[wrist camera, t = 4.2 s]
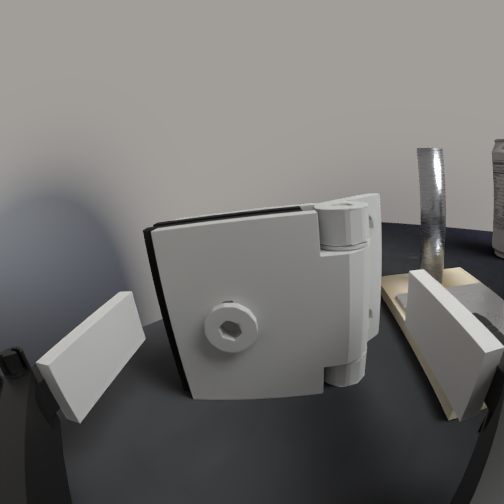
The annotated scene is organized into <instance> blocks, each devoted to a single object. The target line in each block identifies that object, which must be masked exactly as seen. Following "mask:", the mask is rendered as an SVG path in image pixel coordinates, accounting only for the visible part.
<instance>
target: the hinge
mask: <svg viewBox="0 0 504 504" xmlns="http://www.w3.org/2000/svg"><path fill="white" fill-rule="evenodd" d="M143 233H144V239H145V244H146V248H147V254H148V258H149V263H150V268H151V272H152V277H153V281H154V285H155V289H156V294H157V298H158V302H159V305H160V310H161V314H162V317H163V321H164V325H165V329H166V332H167V336H168V339H169V343H170V346H171V350H172V353H173V357H174V360H175V363H176V366H177V370H178V373H179V376H180V379H181V382H182V385H183V388H184V390H187V391H191V393H192V396H193V399H205V400H234V399H263V398H279V397H292V396H303V395H313V394H321V393H323V384H324V381H325V382H326V383H327V384H331V385H334V386H339V387H344V386H349V385H353V384H356V383H358V382H359V381H360V380H361V379H362V377H363V376H364V375H365V362H366V353H367V351H366V350H367V341H369V340H370V339H371V338H373V337H374V336H375V335H377V334H378V331H379V317H380V299H381V266H382V242H381V208H380V194H373V193H369V194H364V195H359V196H353V197H348V198H343V199H337V200H333V201H328V202H322V203H318V204H315V203H308V204H299V205H298V204H297V205H287V206H278V207H268V208H259V209H250V210H241V211H232V212H225V213H216V214H208V215H201V216H193V217H185V218H178V219H175V220H173V221H167V222H160V223H156V224H154V225H153V227H149V228H146V229H145V230H143Z"/></svg>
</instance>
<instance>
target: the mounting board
mask: <svg viewBox="0 0 504 504" xmlns="http://www.w3.org/2000/svg"><path fill="white" fill-rule="evenodd" d="M408 281H409V273H408V274H399V275H390V276H381V296H382V297H383V299H384V301H385V302H386V304H387V306H388V307H389V309H390V311H391V312H392V314H393V316H394V317H395V319H396V321H397V323H398V324H399V326H400V328H401V330H402V331H403V333H404V335H405V337H406V338H407V340H408V342H409V344H410V346H411V347H412V349H413V351H414V353H415V355H416V357H417V358H418V360H419V362H420V364H421V366H422V368H423V370H424V372H425V374H426V375H427V377H428V379H429V381H430V383H431V385H432V387H433V389H434V391H435V393H436V395H437V397H438V399H439V401H440V404H441V406H442V408H443V410H444V412H445V414H446V416H447V418H448V421H449V420H452V419H455V418H458V417H457V415H456V413H455V411H454V409H453V407H452V405H451V404H450V402H449V400H448V398H447V396H446V394H445V392H444V391H443V389H442V387H441V385H440V383H439V381H438V380H437V378H436V376H435V374H434V373H433V371H432V369H431V367H430V366H429V364H428V362H427V361H426V359H425V357H424V355H423V354H422V352H421V350H420V349H419V347H418V345H417V344H416V342H415V341H414V339H413V337H412V336H411V334H410V332H409V331H408V329H407V328H406V326H405V317H406V312H405V310H404V309H403V308H402V306H401V305H400V303H399V302H398V300H397V299H396V294H402V293H408ZM479 282H480V281H478V280H477V279H476V278H474V277H473V276H472V275H470V274H469V273H468V272H466V271H465V270H463V269H462V268H461V267H458V268H450V269H443V280H442V284H441V285H442V286H443V287H444V288H447V287H454V286H460V285H466V284H473V283H479ZM483 285H484V284H483ZM487 288H488V287H487ZM491 291H492V290H491ZM496 295H497V294H496ZM501 299H502V298H501ZM485 408H488V407H487V406H486V404H485V403H484V404H483V406H482V408H481V410H483V409H485Z"/></svg>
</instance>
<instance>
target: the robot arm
mask: <svg viewBox="0 0 504 504" xmlns="http://www.w3.org/2000/svg"><path fill="white" fill-rule="evenodd" d="M405 326H406V328H407V329H408V331H409V332H410V334H411V336H412V337H413V339H414V341H415V342H416V344H417V345H418V347H419V349H420V350H421V352H422V354H423V355H424V357H425V359H426V361H427V362H428V364H429V366H430V367H431V369H432V371H433V373H434V374H435V376H436V378H437V380H438V381H439V383H440V385H441V387H442V389H443V391H444V392H445V394H446V396H447V398H448V400H449V402H450V404H451V405H452V407H453V409H454V411H455V413H456V415H457V417H458V419H459V421H460V422H461V421H464V420H466V419H469V418H472V417H475V416H478V415H479V412H480V410H481V408H482V406H483V404H484V403H485V404H486V406H487V407H488V409H489V410H488V412H487V414H486V416H485V418H484V420H483V422H482V424H481V426H480V428H479V430H478V432H480V435H479V438H478V441H477V444H476V446H475V449H474V452H473V454H472V457H471V459H470V462H469V464H468V467H467V469H466V472H465V474H464V476H463V478H462V481H461V483H460V485H459V487H458V489H457V491H456V493H455V495H454V497H453V499H452V501H451V503H450V504H504V335H503V334H502V333H501V332H500V331H499V330H498V329H497V328H496V327H495V326H493V324H492V323H491V322H490V321H489V320H488V319H487V318H486V317H484V316H482V315H480V314H478V313H471V312H470V311H469V310H468V309H467V308H466V307H465V306H464V305H463V304H462V303H460V302H459V301H458V300H457V299H456V298H455V297H454V296H453V295H452V294H451V293H450V292H449V291H448V290H446V289H445V288H444V287H443V286H442V285H441V284H440V283H439V282H438V281H436V280H435V279H434V278H433V277H432V276H431V275H430V274H428V273H427V272H426V271H425V270H424V269H422V270H413V271H409V281H408V295H407V307H406V317H405ZM144 341H145V335H144V332H143V329H142V326H141V322H140V319H139V315H138V312H137V308H136V305H135V302H134V298H133V294H132V292H119V293H118V294H117V295H115V296H114V297H113V298H111V299H110V300H109V301H108V302H107V303H105V304H104V305H103V306H102V307H100V308H99V309H98V310H97V311H95V312H94V313H93V314H92V315H91V316H89V317H88V318H87V319H86V320H85V321H83V322H82V323H81V324H80V325H79V326H77V327H76V328H75V329H74V330H73V331H72V332H70V333H69V334H68V335H67V336H66V337H64V338H63V339H62V340H61V341H60V342H59V343H58V344H56V345H55V346H54V347H53V348H52V349H50V350H49V351H48V352H47V353H46V354H45V355H44V356H42V357H41V358H40V359H39V360H38V361H37V362H36V364H35V365H34V366H33V367H32V368H31V367H30V365H29V363H28V360H27V358H26V356H25V354H24V352H23V350H22V348H20V347H12V348H9V349H6V350H5V351H3V352H1V353H0V367H1V370H2V372H3V374H4V375H5V377H3V376H0V504H72V500H71V496H70V491H69V486H68V481H67V475H66V469H65V463H64V456H63V448H62V439H61V429H60V420H59V417H58V415H57V414H56V412H57V411H58V410H59V409H61V411H62V412H63V414H64V416H65V417H66V419H68V420H71V421H74V422H77V423H81V422H82V420H83V419H84V418H85V416H86V415H87V414H88V412H89V411H90V410H91V409H92V407H93V406H94V405H95V403H96V402H97V401H98V399H99V398H100V397H101V395H102V394H103V393H104V392H105V390H106V389H107V388H108V386H109V385H110V384H111V382H112V381H113V380H114V379H115V377H116V376H117V375H118V373H119V372H120V371H121V370H122V368H123V367H124V366H125V365H126V363H127V362H128V361H129V359H130V358H131V357H132V356H133V354H134V353H135V352H136V351H137V349H138V348H139V347H140V346H141V344H142V343H143V342H144Z"/></svg>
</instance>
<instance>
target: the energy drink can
mask: <svg viewBox="0 0 504 504" xmlns="http://www.w3.org/2000/svg"><path fill="white" fill-rule="evenodd" d="M492 161H493V180H494V220H493V239H492V247H493V248H494V249H495V254H496V255H497V256H499V257H501V258H504V139H496V140H495V146H494V148H493V151H492Z"/></svg>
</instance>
